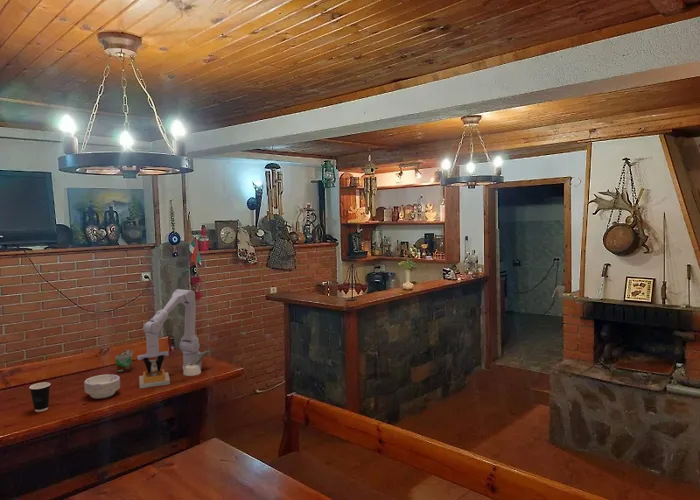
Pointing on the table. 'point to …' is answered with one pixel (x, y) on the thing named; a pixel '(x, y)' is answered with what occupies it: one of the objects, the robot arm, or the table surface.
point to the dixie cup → (40, 396)
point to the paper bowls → (102, 385)
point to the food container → (124, 361)
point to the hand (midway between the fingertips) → (153, 371)
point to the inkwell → (194, 365)
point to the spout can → (153, 368)
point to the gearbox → (154, 379)
